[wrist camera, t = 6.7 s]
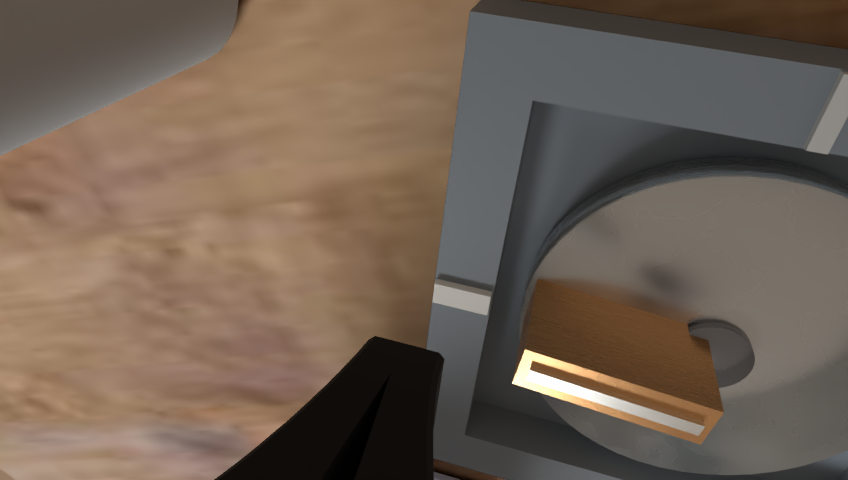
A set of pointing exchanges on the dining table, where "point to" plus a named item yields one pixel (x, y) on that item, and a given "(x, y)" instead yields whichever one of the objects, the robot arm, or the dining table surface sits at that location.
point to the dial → (698, 317)
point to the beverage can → (95, 55)
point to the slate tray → (592, 192)
